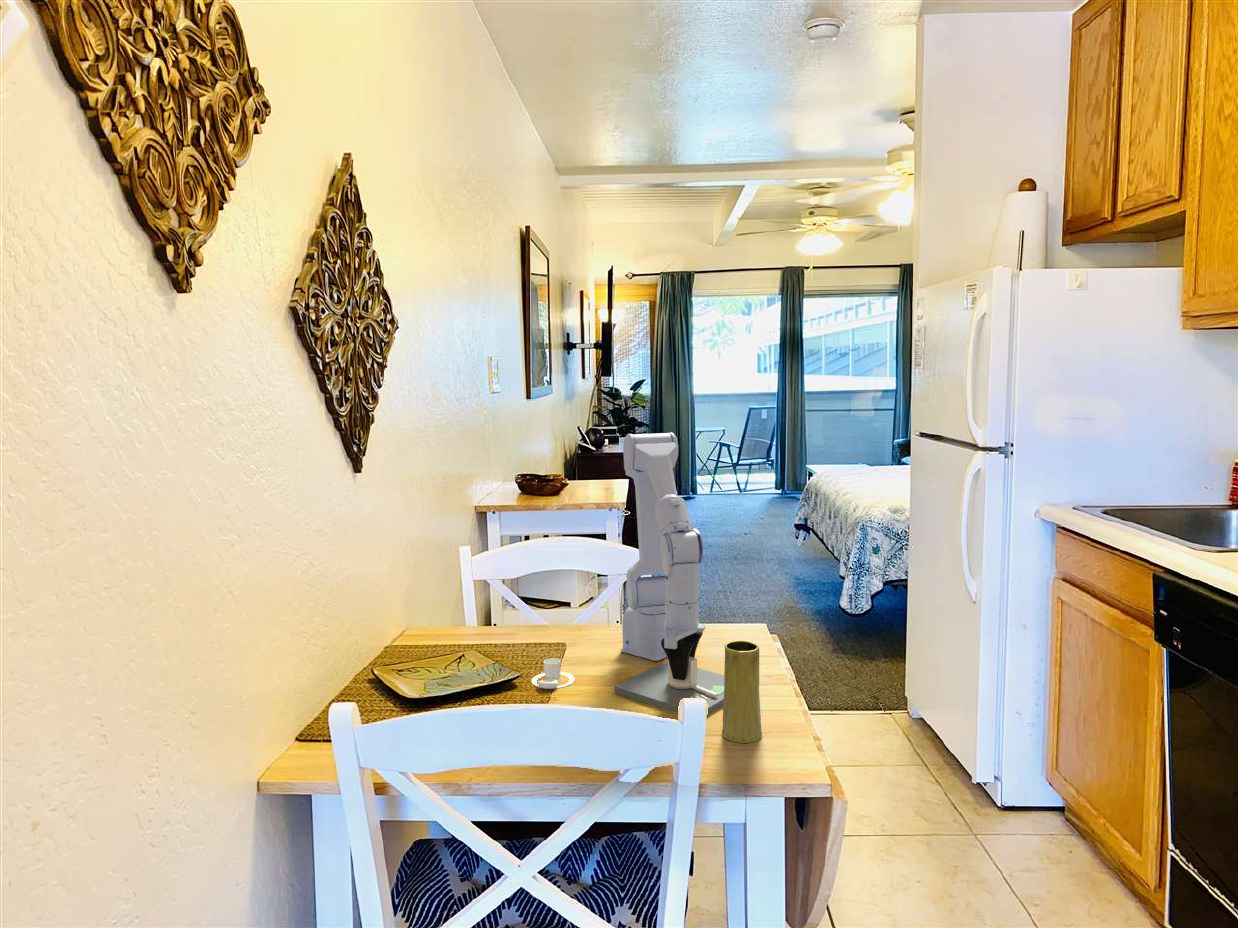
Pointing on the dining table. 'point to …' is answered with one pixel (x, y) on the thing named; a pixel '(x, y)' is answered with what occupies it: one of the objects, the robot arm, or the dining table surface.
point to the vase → (741, 692)
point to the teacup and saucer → (552, 675)
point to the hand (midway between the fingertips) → (682, 674)
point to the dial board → (671, 689)
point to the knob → (688, 678)
